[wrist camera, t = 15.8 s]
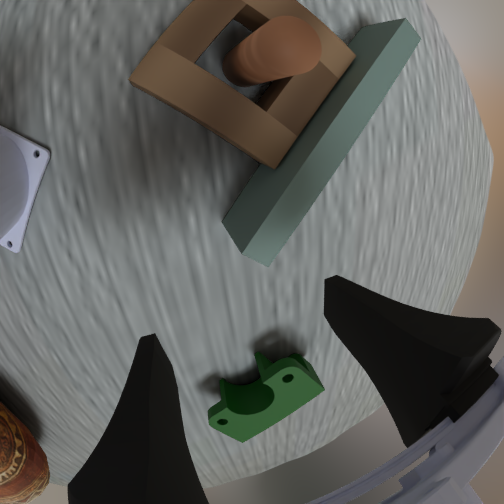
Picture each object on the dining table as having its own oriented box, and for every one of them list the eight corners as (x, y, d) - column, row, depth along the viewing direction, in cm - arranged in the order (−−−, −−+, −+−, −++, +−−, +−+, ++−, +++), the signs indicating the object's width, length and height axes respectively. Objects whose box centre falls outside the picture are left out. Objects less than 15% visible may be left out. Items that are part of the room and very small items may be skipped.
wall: (221, 222, 20) (241, 253, 16) (362, 27, 16) (405, 18, 12) (243, 234, 21) (268, 267, 17) (377, 43, 17) (421, 38, 12)
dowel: (212, 66, 15) (245, 39, 9) (244, 38, 14) (291, 5, 9) (245, 95, 16) (292, 87, 11) (274, 68, 16) (332, 51, 10)
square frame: (132, 85, 14) (128, 79, 11) (225, -21, 12) (237, -39, 9) (257, 161, 19) (274, 169, 16) (332, 60, 17) (356, 55, 14)
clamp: (256, 324, 32) (303, 346, 24) (286, 351, 34) (335, 375, 26) (190, 401, 28) (218, 446, 20) (226, 422, 30) (261, 464, 22)
